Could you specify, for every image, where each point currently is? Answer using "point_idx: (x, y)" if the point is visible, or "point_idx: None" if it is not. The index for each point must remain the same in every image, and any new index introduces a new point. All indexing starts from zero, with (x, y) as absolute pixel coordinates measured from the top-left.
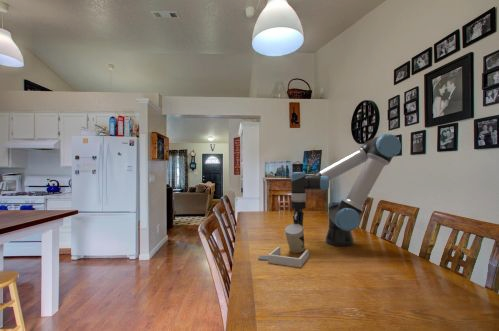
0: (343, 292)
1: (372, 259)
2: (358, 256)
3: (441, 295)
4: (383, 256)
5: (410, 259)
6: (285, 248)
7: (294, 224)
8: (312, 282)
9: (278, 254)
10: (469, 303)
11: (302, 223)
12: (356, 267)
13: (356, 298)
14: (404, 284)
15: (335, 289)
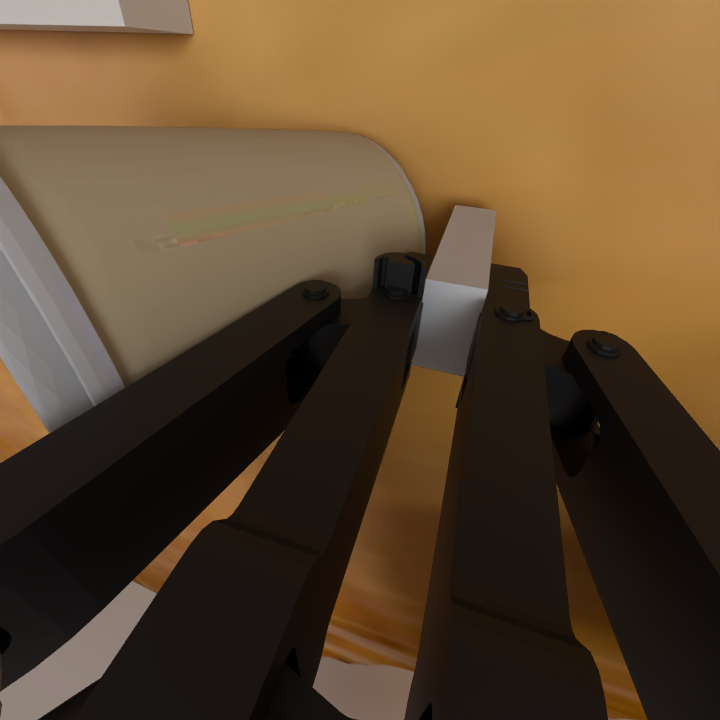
0: (9, 419)
1: (360, 578)
2: (385, 555)
3: (163, 572)
4: (420, 619)
5: (408, 654)
6: (448, 22)
7: (52, 413)
8: None
9: (117, 31)
10: (159, 584)
11: (613, 578)
12: (228, 503)
13: (10, 438)
14: (173, 549)
15: (5, 404)
